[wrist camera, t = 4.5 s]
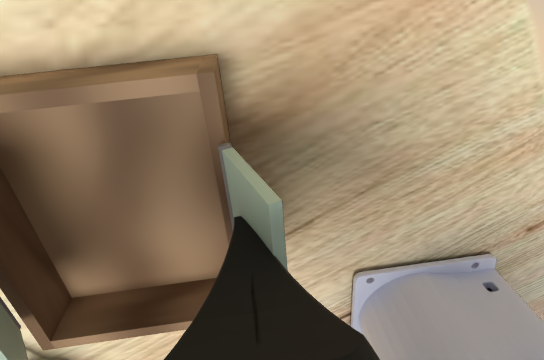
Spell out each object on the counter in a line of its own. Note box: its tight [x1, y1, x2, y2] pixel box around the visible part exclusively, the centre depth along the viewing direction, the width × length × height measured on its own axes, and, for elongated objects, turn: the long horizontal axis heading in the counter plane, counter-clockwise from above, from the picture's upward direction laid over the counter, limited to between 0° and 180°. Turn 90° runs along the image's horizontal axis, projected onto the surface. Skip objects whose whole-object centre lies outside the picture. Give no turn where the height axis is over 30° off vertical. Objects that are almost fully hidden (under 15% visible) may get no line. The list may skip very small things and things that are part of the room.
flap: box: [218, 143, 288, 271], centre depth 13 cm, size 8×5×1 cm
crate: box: [0, 54, 233, 350], centre depth 16 cm, size 11×13×3 cm
